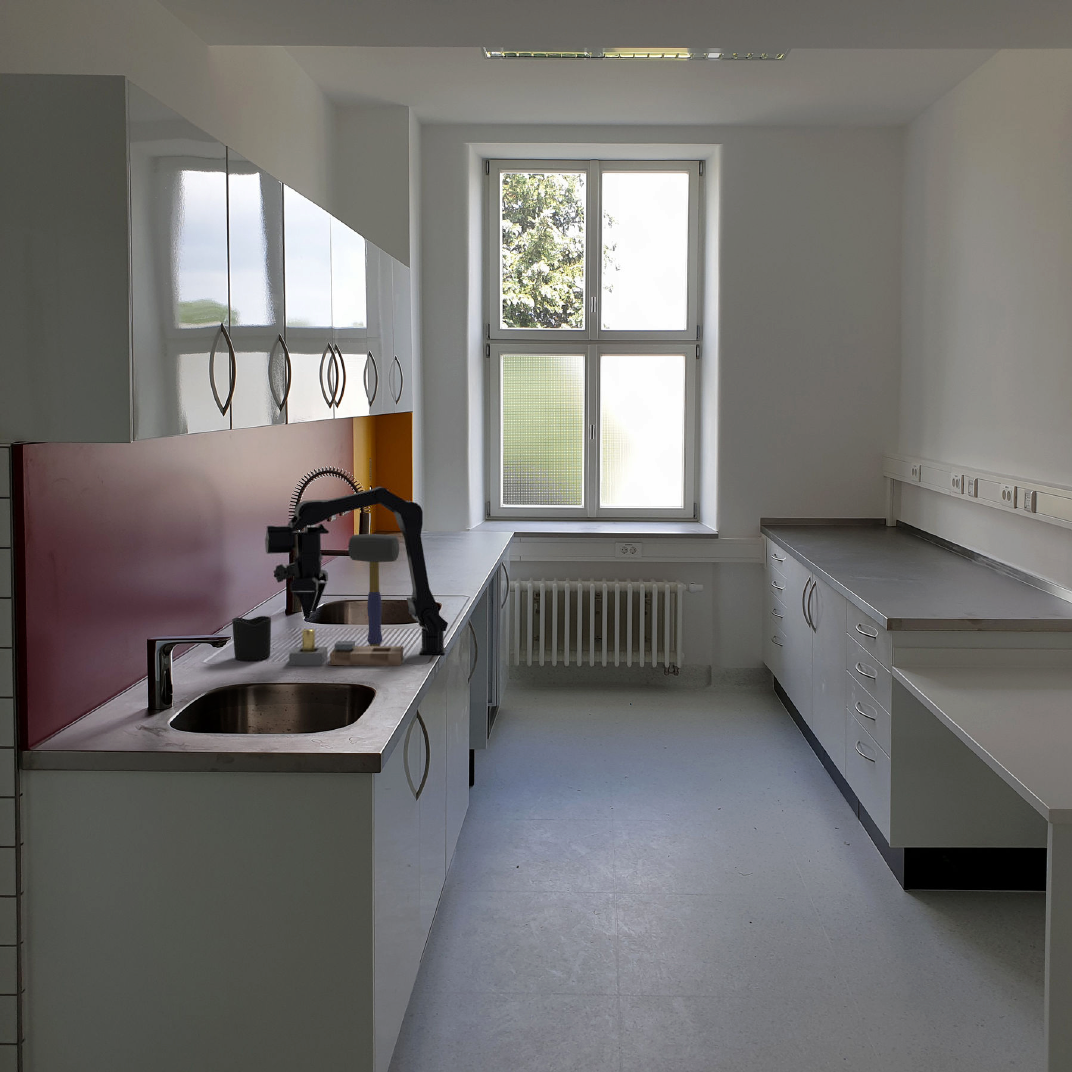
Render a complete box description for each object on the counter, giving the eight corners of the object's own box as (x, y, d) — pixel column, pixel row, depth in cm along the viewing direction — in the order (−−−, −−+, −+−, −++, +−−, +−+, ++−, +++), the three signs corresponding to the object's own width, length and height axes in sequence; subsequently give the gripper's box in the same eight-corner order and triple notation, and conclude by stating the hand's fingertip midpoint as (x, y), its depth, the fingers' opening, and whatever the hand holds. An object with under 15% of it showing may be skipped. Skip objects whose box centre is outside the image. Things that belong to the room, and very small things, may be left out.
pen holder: (246, 653, 274) (246, 614, 273) (278, 655, 271) (278, 616, 270) (225, 660, 265) (224, 621, 264) (258, 663, 262) (257, 623, 261)
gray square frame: (295, 658, 268) (295, 646, 267) (327, 658, 268) (327, 646, 268) (289, 665, 260) (289, 653, 259) (322, 665, 260) (322, 653, 260)
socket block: (335, 658, 268) (335, 646, 268) (403, 657, 269) (403, 646, 269) (330, 665, 259) (329, 653, 259) (399, 665, 260) (399, 653, 260)
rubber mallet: (347, 647, 282) (346, 534, 279) (358, 641, 289) (356, 532, 286) (392, 649, 279) (391, 536, 276) (401, 643, 286) (400, 533, 283)
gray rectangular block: (337, 659, 266) (337, 640, 266) (355, 658, 266) (355, 640, 266) (334, 662, 262) (334, 644, 261) (352, 662, 262) (352, 644, 261)
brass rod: (304, 660, 265) (303, 629, 264) (316, 660, 265) (315, 629, 265) (301, 663, 262) (301, 631, 261) (313, 663, 262) (313, 631, 262)
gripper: (283, 548, 270) (285, 608, 272) (267, 556, 252) (269, 621, 253) (327, 547, 271) (328, 608, 272) (315, 556, 252) (316, 621, 254)
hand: (310, 614), depth 263 cm, fingers open, 9 cm apart
